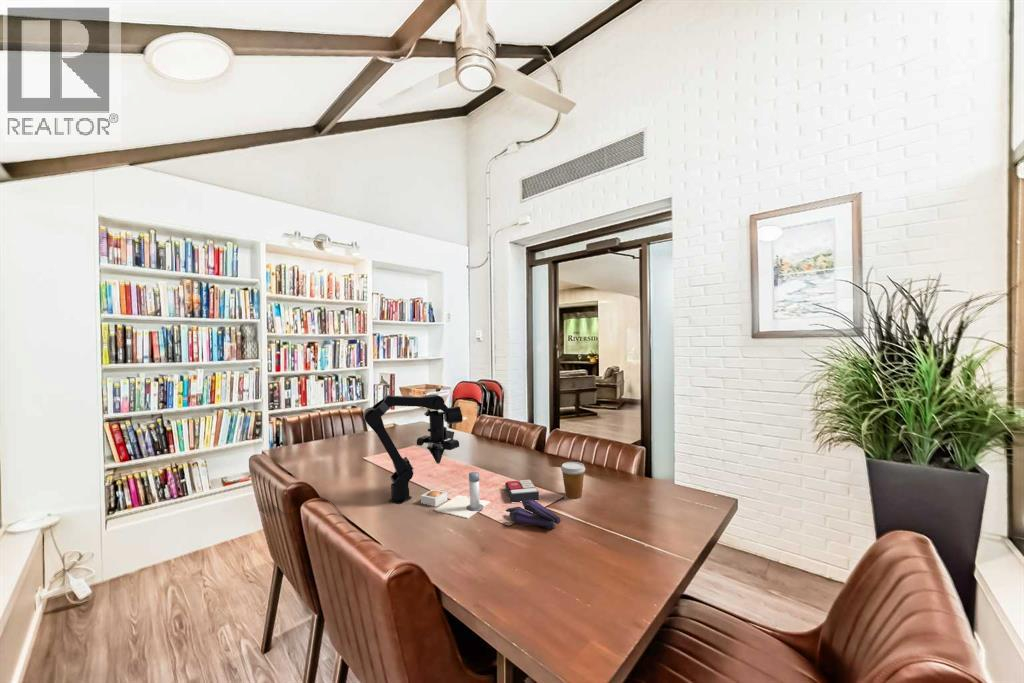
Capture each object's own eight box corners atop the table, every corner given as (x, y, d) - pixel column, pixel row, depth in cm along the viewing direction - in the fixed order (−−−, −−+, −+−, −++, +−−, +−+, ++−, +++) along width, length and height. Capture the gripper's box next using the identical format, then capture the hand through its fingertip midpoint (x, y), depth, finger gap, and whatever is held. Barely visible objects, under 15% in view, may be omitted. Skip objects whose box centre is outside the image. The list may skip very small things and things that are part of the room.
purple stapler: (565, 506, 135) (517, 488, 148) (546, 522, 127) (497, 502, 139) (565, 525, 136) (518, 506, 149) (546, 543, 128) (498, 521, 140)
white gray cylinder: (467, 507, 150) (466, 473, 150) (476, 504, 152) (475, 471, 152) (473, 510, 147) (472, 476, 147) (482, 507, 150) (481, 473, 149)
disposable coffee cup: (590, 497, 157) (589, 467, 157) (569, 502, 153) (568, 470, 153) (577, 489, 166) (577, 460, 165) (557, 493, 162) (556, 463, 162)
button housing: (420, 503, 156) (420, 495, 156) (433, 496, 162) (432, 489, 162) (435, 506, 152) (435, 498, 152) (447, 499, 159) (447, 492, 159)
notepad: (434, 510, 149) (434, 509, 149) (458, 496, 162) (458, 494, 162) (469, 519, 141) (469, 517, 141) (492, 503, 154) (492, 501, 154)
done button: (426, 500, 156) (425, 493, 156) (433, 496, 160) (433, 490, 160) (434, 502, 154) (434, 495, 154) (442, 498, 158) (442, 491, 158)
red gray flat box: (530, 478, 170) (539, 490, 156) (531, 488, 170) (539, 501, 156) (505, 480, 169) (510, 492, 154) (505, 491, 169) (511, 503, 154)
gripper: (467, 423, 168) (468, 460, 168) (433, 419, 178) (435, 455, 178) (449, 429, 158) (450, 468, 159) (415, 425, 168) (416, 462, 169)
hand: (438, 463), depth 166 cm, fingers closed
